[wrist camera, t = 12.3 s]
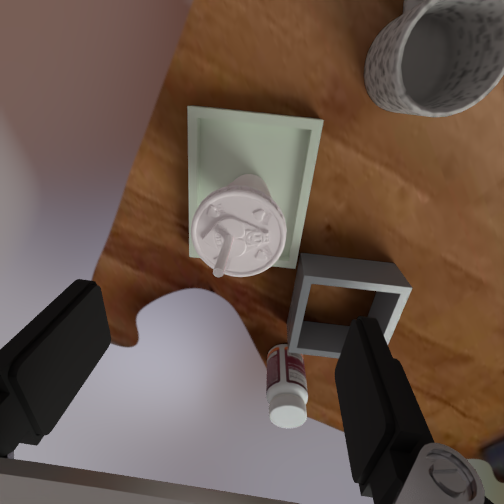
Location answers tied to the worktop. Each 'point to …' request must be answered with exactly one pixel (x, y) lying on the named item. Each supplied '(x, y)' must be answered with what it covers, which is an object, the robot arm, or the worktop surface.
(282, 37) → the worktop surface
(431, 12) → the mug
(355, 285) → the grey square tube frame
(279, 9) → the worktop surface
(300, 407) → the pill bottle
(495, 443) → the worktop surface
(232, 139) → the tray
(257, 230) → the smoothie
